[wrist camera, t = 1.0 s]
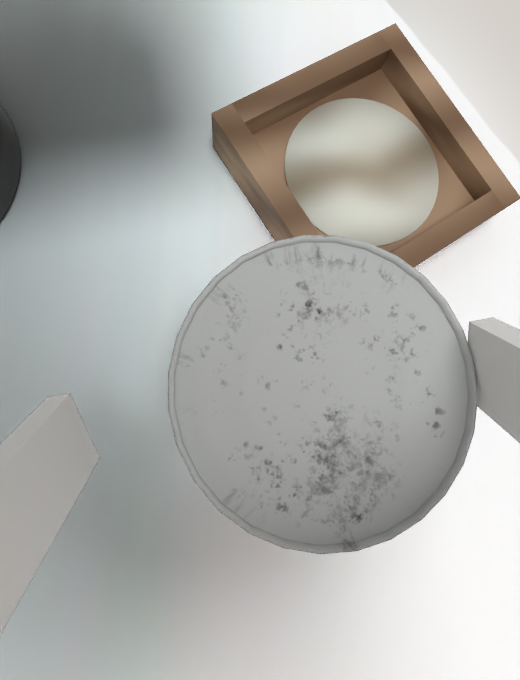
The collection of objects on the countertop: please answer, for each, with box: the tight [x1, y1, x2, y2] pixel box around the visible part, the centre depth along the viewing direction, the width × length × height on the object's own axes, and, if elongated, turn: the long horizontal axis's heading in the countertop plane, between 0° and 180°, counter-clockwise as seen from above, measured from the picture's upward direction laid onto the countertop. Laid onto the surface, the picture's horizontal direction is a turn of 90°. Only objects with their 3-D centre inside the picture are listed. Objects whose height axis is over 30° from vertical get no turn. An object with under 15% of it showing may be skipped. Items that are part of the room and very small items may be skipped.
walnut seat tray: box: [212, 23, 520, 267], centre depth 24 cm, size 15×15×3 cm
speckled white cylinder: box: [168, 235, 478, 554], centre depth 16 cm, size 10×10×12 cm
